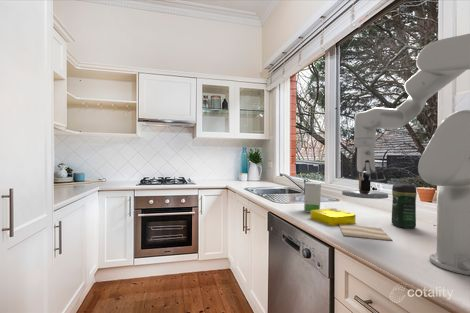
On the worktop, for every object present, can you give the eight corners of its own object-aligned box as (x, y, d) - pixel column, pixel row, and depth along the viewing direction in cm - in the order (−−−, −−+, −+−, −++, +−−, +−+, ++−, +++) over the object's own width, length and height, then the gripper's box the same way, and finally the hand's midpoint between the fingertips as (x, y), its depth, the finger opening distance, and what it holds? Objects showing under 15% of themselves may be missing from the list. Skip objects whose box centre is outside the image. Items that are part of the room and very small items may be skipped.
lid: (393, 199, 89) (394, 179, 90) (344, 197, 94) (345, 177, 94) (381, 194, 105) (381, 176, 105) (340, 192, 109) (340, 175, 109)
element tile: (308, 218, 122) (308, 208, 122) (332, 216, 128) (332, 207, 128) (331, 227, 108) (332, 215, 108) (357, 224, 114) (357, 213, 114)
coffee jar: (419, 229, 105) (420, 185, 105) (398, 228, 106) (399, 184, 106) (407, 223, 114) (408, 182, 115) (388, 222, 116) (389, 182, 116)
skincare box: (303, 212, 135) (304, 182, 135) (304, 209, 141) (304, 181, 141) (320, 213, 132) (321, 183, 132) (320, 211, 139) (320, 182, 139)
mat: (392, 241, 90) (392, 239, 90) (343, 236, 94) (343, 235, 94) (380, 228, 105) (380, 228, 105) (339, 225, 110) (339, 224, 110)
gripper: (381, 142, 91) (380, 193, 90) (370, 144, 106) (370, 188, 106) (358, 142, 93) (357, 192, 93) (351, 144, 109) (350, 187, 108)
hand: (364, 189), depth 99 cm, fingers closed on lid, 3 cm apart
